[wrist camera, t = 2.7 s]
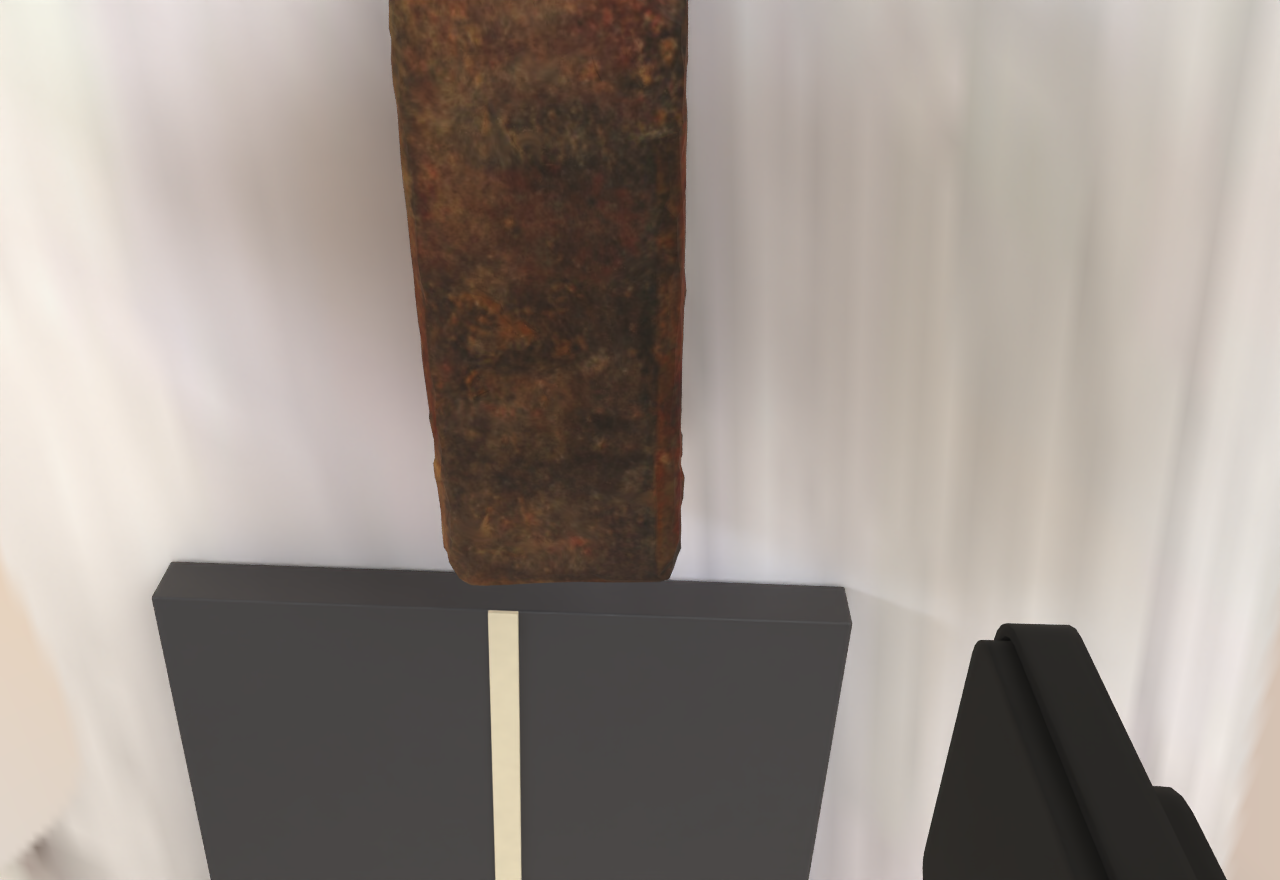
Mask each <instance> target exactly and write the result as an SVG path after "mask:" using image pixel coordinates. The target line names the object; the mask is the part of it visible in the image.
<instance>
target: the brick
mask: <svg viewBox="0 0 1280 880" xmlns="http://www.w3.org/2000/svg"><path fill="white" fill-rule="evenodd" d="M389 30H390V35H391V65H392V78H393V87H394V93H395V99H396V104H397V113H398V126H399V140H400V154H401V166H402V177H403V186H404V194H405V201H406V209H407V218H408V228H409V238H410V249H411V257H412V265H413V273H414V286H415V297H416V306H417V315H418V324H419V330H420V336H421V350H422V361H423V369H424V376H425V383H426V390H427V398H428V405H429V419H430V424H431V429H432V433H433V438H434V449H435V460H434V463H433V464H434V473H435V479H436V483H437V487H438V494H439V501H440V508H441V521H442V534H443V544H444V548H445V550H446V551H447V553H448V558H449V563H450V564H451V566H452V568H453V569H454V571H455V572H456V574H457V575H458V577H459V578H460V579H461V580H463V581H464V582H466V583H468V584H470V585H478V586H490V585H512V584H530V583H556V582H661V581H664V580H667V579H669V578H670V576H671V573H672V571H673V568H674V565H675V562H676V559H677V556H678V554H679V551H680V549H681V504H682V500H683V489H684V474H683V471H682V467H681V457H682V433H681V411H682V408H681V398H682V351H683V325H684V304H685V297H686V281H685V268H684V267H685V235H686V194H685V190H686V146H687V103H686V76H687V62H688V0H389Z"/></svg>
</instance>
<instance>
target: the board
mask: <svg viewBox="0 0 1280 880" xmlns="http://www.w3.org/2000/svg"><path fill="white" fill-rule="evenodd" d="M152 601H153V606H154V611H155V616H156V620H157V625H158V630H159V635H160V639H161V644H162V649H163V654H164V658H165V663H166V668H167V673H168V677H169V682H170V687H171V692H172V697H173V701H174V706H175V711H176V716H177V720H178V725H179V730H180V735H181V739H182V744H183V749H184V754H185V758H186V763H187V768H188V773H189V778H190V782H191V787H192V792H193V797H194V801H195V806H196V811H197V816H198V820H199V825H200V830H201V835H202V839H203V844H204V849H205V854H206V858H207V863H208V868H209V873H210V878H211V880H808V879H809V873H810V867H811V861H812V855H813V850H814V844H815V838H816V832H817V826H818V820H819V815H820V809H821V803H822V797H823V791H824V785H825V780H826V774H827V768H828V762H829V756H830V750H831V745H832V739H833V733H834V727H835V721H836V715H837V710H838V704H839V698H840V692H841V686H842V680H843V675H844V669H845V663H846V657H847V651H848V645H849V640H850V634H851V628H852V621H851V616H850V611H849V607H848V602H847V598H846V593H845V589H844V588H843V587H825V586H798V585H772V584H745V583H719V582H692V581H666V580H664V581H661V582H556V583H530V584H512V585H490V586H478V585H470V584H468V583H466V582H464V581H463V580H461V579H460V578H459V577H458V575H457V574H456V573H453V572H427V571H400V570H374V569H347V568H320V567H294V566H267V565H241V564H214V563H188V562H171V563H170V565H169V567H168V569H167V571H166V572H165V574H164V576H163V578H162V580H161V582H160V583H159V585H158V587H157V589H156V591H155V592H154V594H153V596H152Z"/></svg>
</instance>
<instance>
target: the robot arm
mask: <svg viewBox="0 0 1280 880" xmlns="http://www.w3.org/2000/svg"><path fill="white" fill-rule="evenodd" d="M923 880H1227V879H1226V877H1225V875H1224V873H1223V871H1222V869H1221V867H1220V865H1219V863H1218V861H1217V859H1216V857H1215V855H1214V853H1213V851H1212V849H1211V847H1210V846H1209V844H1208V842H1207V840H1206V838H1205V836H1204V834H1203V832H1202V830H1201V828H1200V826H1199V824H1198V822H1197V820H1196V818H1195V816H1194V814H1193V812H1192V811H1191V809H1190V807H1189V806H1188V804H1187V803H1186V801H1185V800H1184V798H1183V797H1182V796H1181V795H1180V794H1179V793H1177V792H1176V791H1175V790H1174V789H1172V788H1171V787H1161V786H1152V784H1151V782H1150V780H1149V778H1148V776H1147V774H1146V772H1145V769H1144V767H1143V765H1142V763H1141V761H1140V759H1139V757H1138V755H1137V753H1136V751H1135V749H1134V746H1133V744H1132V742H1131V740H1130V738H1129V736H1128V734H1127V732H1126V730H1125V728H1124V726H1123V724H1122V721H1121V719H1120V717H1119V715H1118V713H1117V711H1116V709H1115V707H1114V705H1113V703H1112V701H1111V698H1110V696H1109V694H1108V692H1107V690H1106V688H1105V686H1104V684H1103V682H1102V680H1101V678H1100V676H1099V673H1098V671H1097V669H1096V667H1095V665H1094V663H1093V661H1092V659H1091V657H1090V655H1089V653H1088V650H1087V648H1086V646H1085V644H1084V642H1083V640H1082V638H1081V636H1080V635H1079V633H1078V632H1077V630H1076V629H1075V628H1073V627H1072V626H1070V625H1047V624H1011V623H1006V624H1003V625H1001V626H1000V628H999V629H998V630H997V633H996V635H995V638H994V640H980V641H978V642H977V643H976V645H975V647H974V650H973V652H972V656H971V661H970V665H969V669H968V673H967V677H966V681H965V685H964V689H963V694H962V698H961V702H960V706H959V710H958V714H957V718H956V723H955V727H954V731H953V735H952V739H951V743H950V747H949V751H948V756H947V760H946V764H945V768H944V772H943V776H942V780H941V785H940V789H939V793H938V797H937V801H936V805H935V809H934V813H933V818H932V822H931V826H930V830H929V834H928V838H927V842H926V847H925V851H924V857H923Z"/></svg>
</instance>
